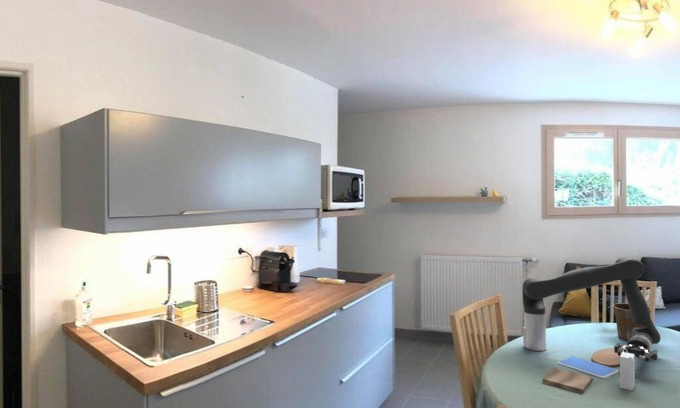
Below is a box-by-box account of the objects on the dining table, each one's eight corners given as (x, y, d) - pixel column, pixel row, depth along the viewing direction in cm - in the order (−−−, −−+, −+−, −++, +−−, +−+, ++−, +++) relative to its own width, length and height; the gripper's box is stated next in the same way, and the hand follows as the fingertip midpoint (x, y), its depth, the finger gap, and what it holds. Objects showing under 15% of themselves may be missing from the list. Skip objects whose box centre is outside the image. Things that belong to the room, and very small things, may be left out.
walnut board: (542, 382, 160) (542, 378, 160) (553, 371, 170) (553, 367, 170) (583, 393, 150) (582, 389, 150) (592, 380, 160) (592, 377, 160)
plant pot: (613, 331, 217) (612, 301, 217) (651, 336, 208) (650, 305, 208) (612, 340, 204) (611, 308, 204) (652, 346, 195) (652, 312, 195)
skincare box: (621, 382, 158) (620, 351, 158) (635, 385, 156) (634, 353, 156) (619, 388, 154) (618, 356, 154) (634, 391, 151) (633, 358, 151)
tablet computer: (556, 364, 178) (556, 361, 178) (572, 358, 185) (572, 355, 185) (603, 380, 162) (603, 377, 162) (619, 373, 168) (619, 369, 168)
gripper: (619, 333, 179) (611, 343, 167) (660, 340, 169) (654, 351, 157) (619, 350, 179) (611, 361, 167) (660, 358, 169) (655, 370, 157)
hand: (632, 356), depth 162 cm, fingers open, 8 cm apart
